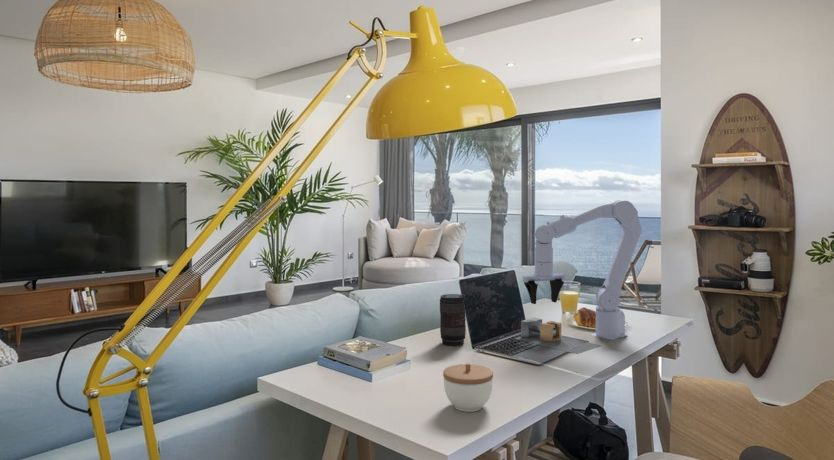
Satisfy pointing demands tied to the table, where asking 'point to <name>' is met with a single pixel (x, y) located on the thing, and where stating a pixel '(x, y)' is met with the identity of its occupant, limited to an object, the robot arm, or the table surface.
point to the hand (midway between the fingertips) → (543, 302)
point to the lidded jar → (468, 386)
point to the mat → (560, 345)
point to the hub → (550, 332)
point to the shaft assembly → (532, 328)
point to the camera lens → (452, 319)
